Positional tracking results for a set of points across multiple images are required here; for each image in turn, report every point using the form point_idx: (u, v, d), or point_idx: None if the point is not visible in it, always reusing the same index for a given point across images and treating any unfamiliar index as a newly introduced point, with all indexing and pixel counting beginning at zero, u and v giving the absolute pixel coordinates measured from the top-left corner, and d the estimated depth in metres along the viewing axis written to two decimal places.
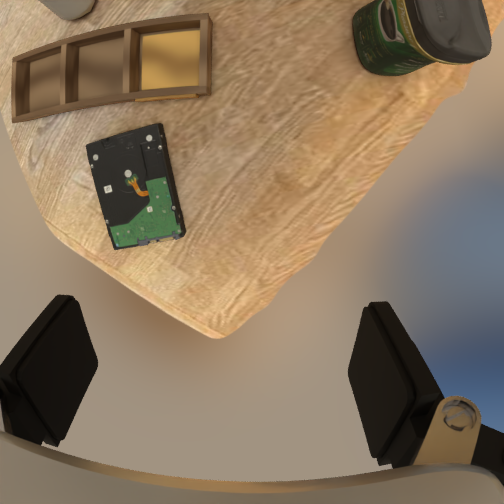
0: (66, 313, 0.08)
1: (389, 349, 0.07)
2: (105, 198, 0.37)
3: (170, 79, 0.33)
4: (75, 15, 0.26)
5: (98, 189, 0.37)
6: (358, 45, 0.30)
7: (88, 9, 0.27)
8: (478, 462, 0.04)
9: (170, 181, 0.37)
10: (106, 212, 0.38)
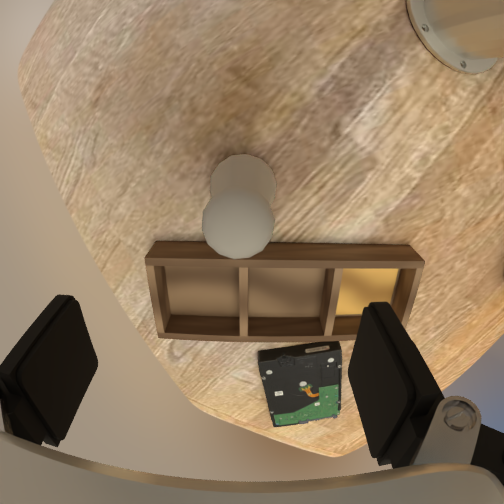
0: (66, 313, 0.08)
1: (389, 349, 0.07)
2: (274, 399, 0.39)
3: (361, 306, 0.35)
4: None
5: (268, 393, 0.39)
6: None
7: None
8: (478, 462, 0.04)
9: (340, 385, 0.39)
10: (272, 406, 0.40)
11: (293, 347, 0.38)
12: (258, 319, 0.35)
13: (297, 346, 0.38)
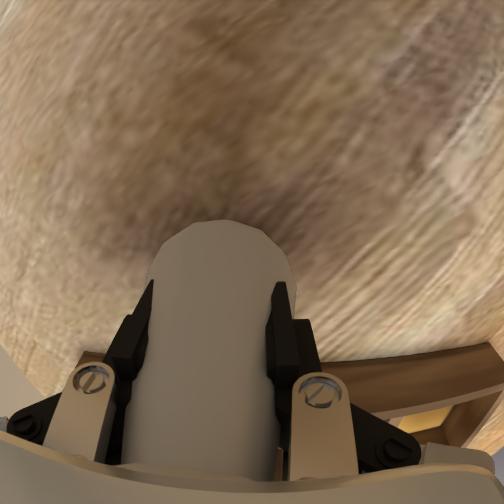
0: None
1: (268, 323, 0.08)
2: None
3: (408, 427, 0.19)
4: None
5: None
6: None
7: None
8: None
9: None
10: None
11: None
12: None
13: None
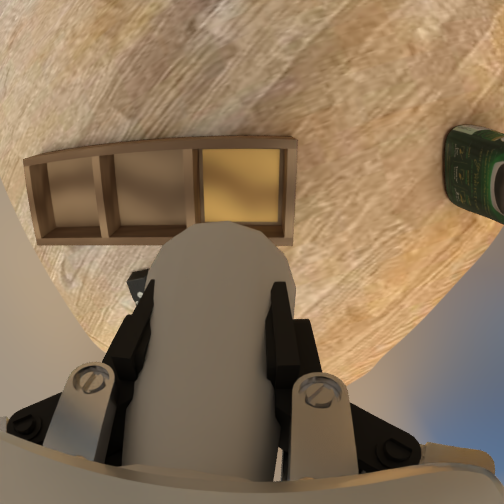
0: None
1: (268, 323, 0.08)
2: None
3: (241, 211, 0.31)
4: None
5: None
6: (448, 177, 0.29)
7: None
8: None
9: None
10: None
11: None
12: (129, 226, 0.32)
13: None
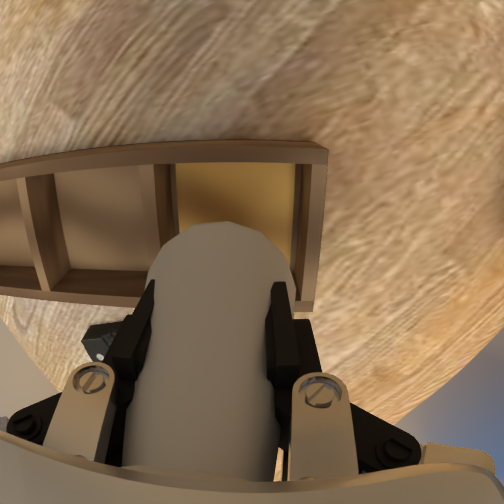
0: None
1: (268, 323, 0.08)
2: None
3: None
4: None
5: None
6: None
7: None
8: None
9: None
10: None
11: None
12: (80, 271, 0.21)
13: None
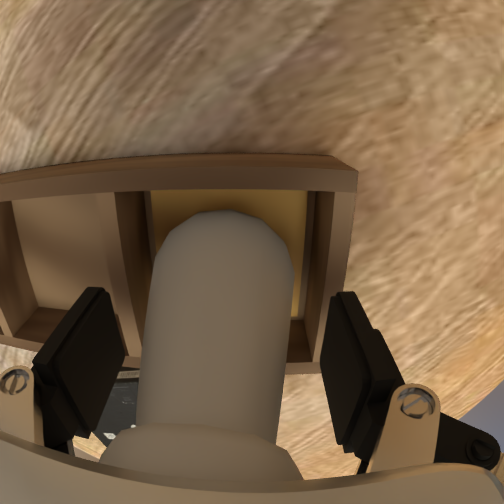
0: (99, 304, 0.09)
1: (349, 336, 0.08)
2: (110, 442, 0.21)
3: None
4: None
5: (96, 433, 0.21)
6: None
7: None
8: (437, 452, 0.05)
9: None
10: None
11: None
12: (48, 311, 0.17)
13: None
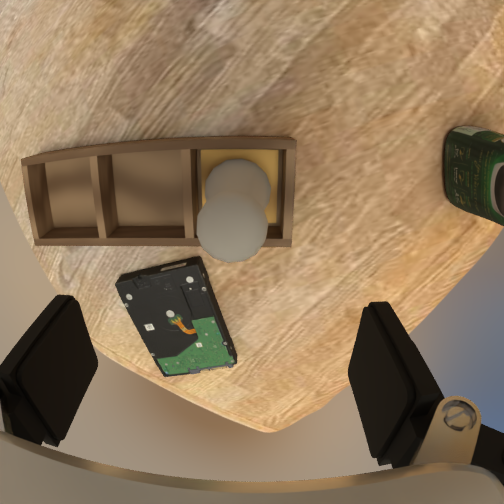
0: (66, 313, 0.08)
1: (389, 349, 0.07)
2: (147, 335, 0.36)
3: None
4: None
5: (138, 327, 0.35)
6: (448, 178, 0.28)
7: None
8: (478, 462, 0.04)
9: (219, 319, 0.35)
10: (150, 346, 0.37)
11: (152, 268, 0.34)
12: (127, 227, 0.31)
13: (156, 266, 0.34)
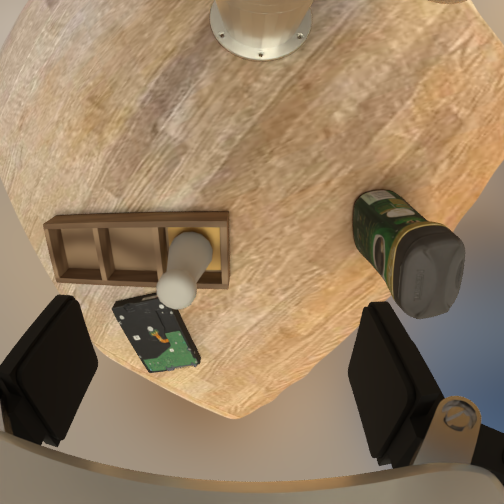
0: (66, 313, 0.08)
1: (389, 349, 0.07)
2: (136, 343, 0.50)
3: None
4: None
5: (129, 337, 0.49)
6: (355, 234, 0.42)
7: None
8: (478, 462, 0.04)
9: (184, 332, 0.49)
10: (138, 351, 0.51)
11: (137, 297, 0.48)
12: (120, 270, 0.45)
13: (139, 296, 0.48)
